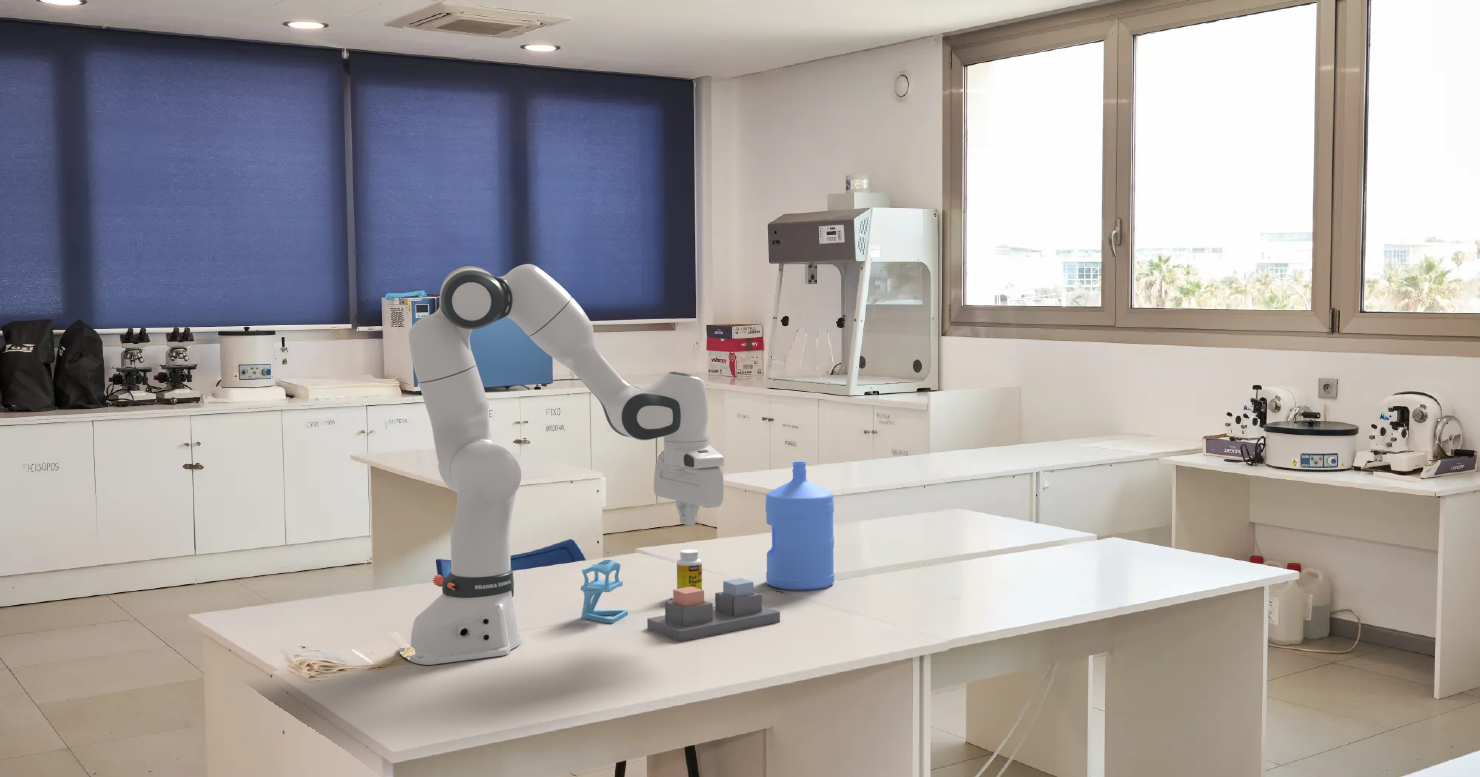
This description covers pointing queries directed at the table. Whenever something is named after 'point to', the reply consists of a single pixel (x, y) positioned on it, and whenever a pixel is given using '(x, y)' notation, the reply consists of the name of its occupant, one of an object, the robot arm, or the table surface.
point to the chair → (597, 588)
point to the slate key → (738, 588)
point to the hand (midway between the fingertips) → (687, 524)
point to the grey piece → (712, 617)
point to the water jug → (800, 534)
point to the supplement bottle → (689, 569)
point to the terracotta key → (688, 596)
